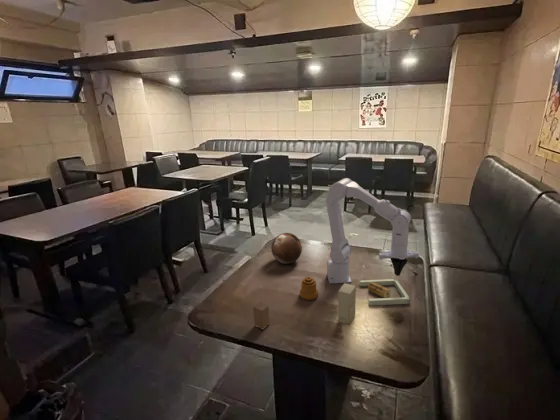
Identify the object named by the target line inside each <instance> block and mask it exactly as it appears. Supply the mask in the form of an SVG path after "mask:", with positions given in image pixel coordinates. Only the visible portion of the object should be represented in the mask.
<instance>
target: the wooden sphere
mask: <svg viewBox="0 0 560 420" xmlns="http://www.w3.org/2000/svg"><path fill="white" fill-rule="evenodd" d="M302 252H303V245H302V242H301V240H300V239H299V237H298V236H297V235H295V234H293V233H291V232H283V233H280V234H277V236H275V238H274V239H273V240H272V243H271V254H272V256H273V257H274V259H275V260H276V261H277V262H279V263H282V264H286V265H287V264H293V263H295V262H296V261H297V260H298V259H299V258H300V257H301V254H302Z"/></svg>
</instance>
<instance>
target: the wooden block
mask: <svg viewBox="0 0 560 420" xmlns="http://www.w3.org/2000/svg"><path fill="white" fill-rule="evenodd" d="M252 311H253V323H254V326H255V325H257V326H259V327H260V328H264V327H265V326H267V325H268V324H269V323H270V324H271V321H270V320H271V319H270V307H269V305H268V304H267V303H264V302H262V301H260V302H258V303H257V304H255V305H254V306H253V308H252ZM270 324H269V325H270ZM269 325H268V326H269ZM268 326H267V327H268Z"/></svg>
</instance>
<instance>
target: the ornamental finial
mask: <svg viewBox="0 0 560 420" xmlns="http://www.w3.org/2000/svg"><path fill="white" fill-rule="evenodd" d="M300 285H301V288H300V289H299V296H300V298H302V299H303V300H305V299H306V301H313V300H315V299H317V298H318V297H319V296H318V295H319V290H318V289H317V281H316V279H314V278H313V277H312V276H306V277H304V278H303V279H301V284H300Z"/></svg>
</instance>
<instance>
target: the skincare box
mask: <svg viewBox="0 0 560 420" xmlns="http://www.w3.org/2000/svg"><path fill="white" fill-rule="evenodd" d="M356 291H357V287H356V285H355V284H350V283H342V285H341V286H340V288H339V289H338V291H337V292H338V293H337V295H338V297H337V304H338V305H337V308H338V309H337V321H338V322H341V323H343V324H346V325H351V323H352V322H353V320H354V318H355V316H356V300H357V299H356V297H357V295H356V294H357V293H356Z"/></svg>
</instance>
